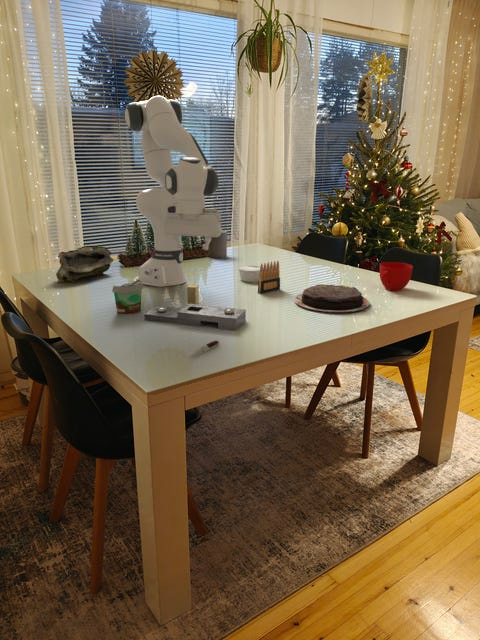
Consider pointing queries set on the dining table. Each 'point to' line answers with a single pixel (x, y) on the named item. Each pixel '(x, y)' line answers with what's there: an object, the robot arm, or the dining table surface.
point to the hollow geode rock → (83, 263)
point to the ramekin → (249, 273)
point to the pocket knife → (205, 348)
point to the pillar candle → (218, 246)
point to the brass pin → (193, 294)
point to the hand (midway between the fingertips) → (192, 248)
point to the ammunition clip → (269, 278)
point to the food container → (128, 297)
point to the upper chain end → (214, 315)
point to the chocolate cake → (332, 299)
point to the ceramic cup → (395, 275)
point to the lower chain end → (169, 316)
